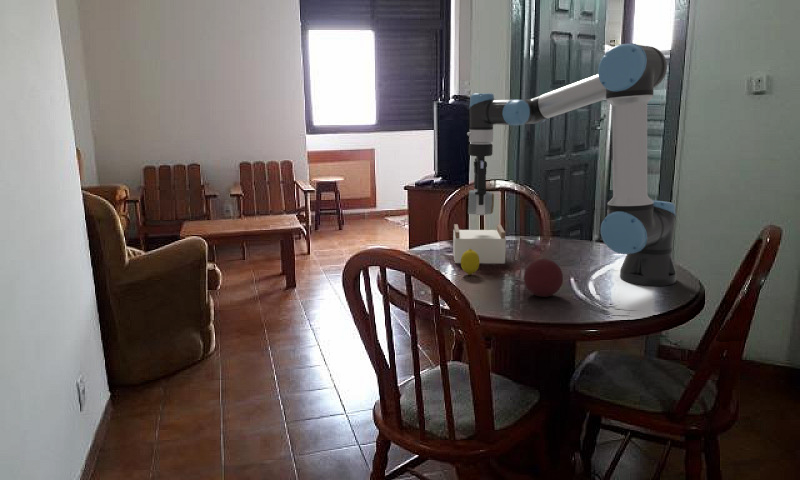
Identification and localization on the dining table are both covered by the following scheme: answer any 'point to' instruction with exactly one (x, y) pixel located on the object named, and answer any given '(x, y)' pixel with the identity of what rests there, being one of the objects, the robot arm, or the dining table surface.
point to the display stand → (480, 244)
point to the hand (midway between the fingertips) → (479, 211)
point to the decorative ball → (543, 277)
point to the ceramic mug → (488, 202)
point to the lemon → (470, 261)
